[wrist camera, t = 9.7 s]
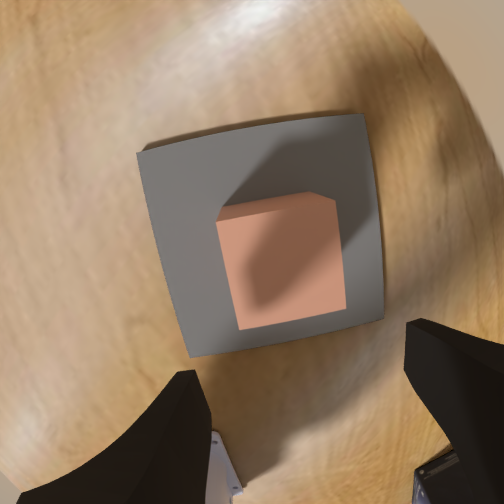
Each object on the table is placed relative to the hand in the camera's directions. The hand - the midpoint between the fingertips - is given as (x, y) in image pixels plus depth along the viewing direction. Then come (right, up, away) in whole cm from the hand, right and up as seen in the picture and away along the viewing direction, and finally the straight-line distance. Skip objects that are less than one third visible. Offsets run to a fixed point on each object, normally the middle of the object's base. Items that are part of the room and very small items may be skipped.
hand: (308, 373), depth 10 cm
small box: (+20, -23, +16) cm, 34 cm away
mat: (-1, +5, +7) cm, 9 cm away
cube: (-1, +4, +7) cm, 8 cm away
